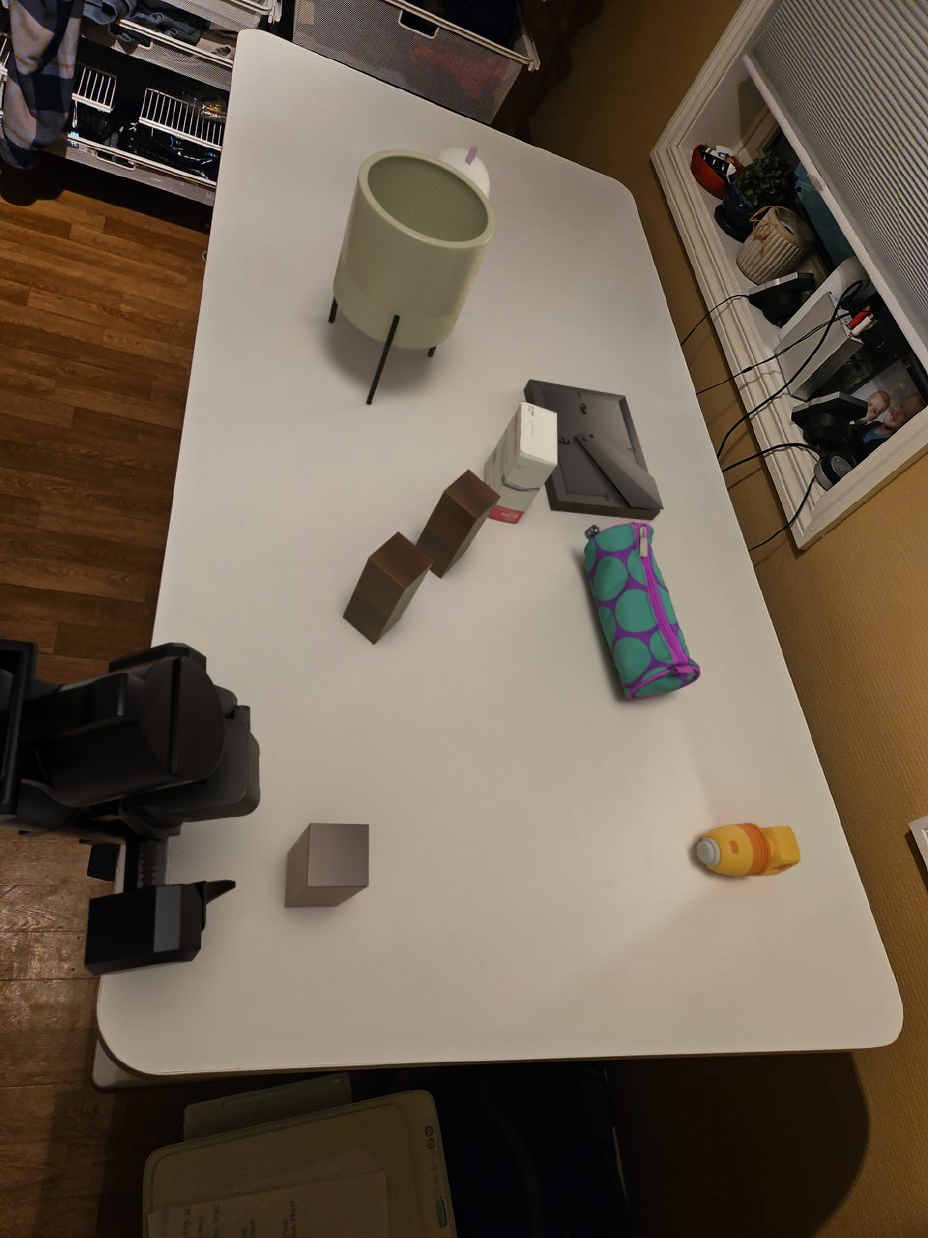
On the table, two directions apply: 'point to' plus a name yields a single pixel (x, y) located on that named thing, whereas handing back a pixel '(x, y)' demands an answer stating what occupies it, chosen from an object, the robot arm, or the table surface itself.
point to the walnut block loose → (327, 865)
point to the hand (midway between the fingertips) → (230, 816)
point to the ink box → (522, 460)
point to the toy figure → (749, 850)
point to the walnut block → (386, 587)
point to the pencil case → (637, 611)
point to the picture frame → (595, 454)
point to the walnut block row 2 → (456, 521)
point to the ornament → (467, 165)
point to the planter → (410, 251)
